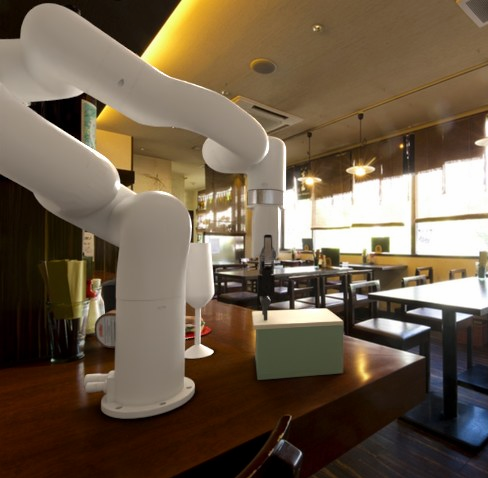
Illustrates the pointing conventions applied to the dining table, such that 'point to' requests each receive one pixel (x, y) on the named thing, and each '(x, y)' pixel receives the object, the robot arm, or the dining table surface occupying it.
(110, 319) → the tin
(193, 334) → the hamburger
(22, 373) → the dining table surface
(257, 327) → the lid
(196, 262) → the champagne flute
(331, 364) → the chest
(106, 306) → the drinking cup
